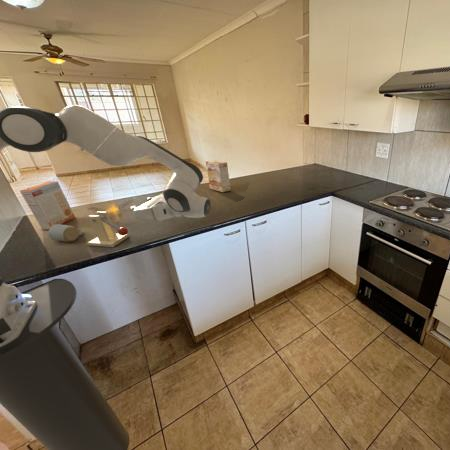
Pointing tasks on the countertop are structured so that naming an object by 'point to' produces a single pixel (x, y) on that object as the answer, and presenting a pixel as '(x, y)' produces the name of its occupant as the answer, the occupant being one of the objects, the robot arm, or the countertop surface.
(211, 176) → the coffeecake box
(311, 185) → the countertop surface
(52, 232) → the ceramic mug
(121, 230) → the lever
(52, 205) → the cracker box
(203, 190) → the countertop surface
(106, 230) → the bracket
